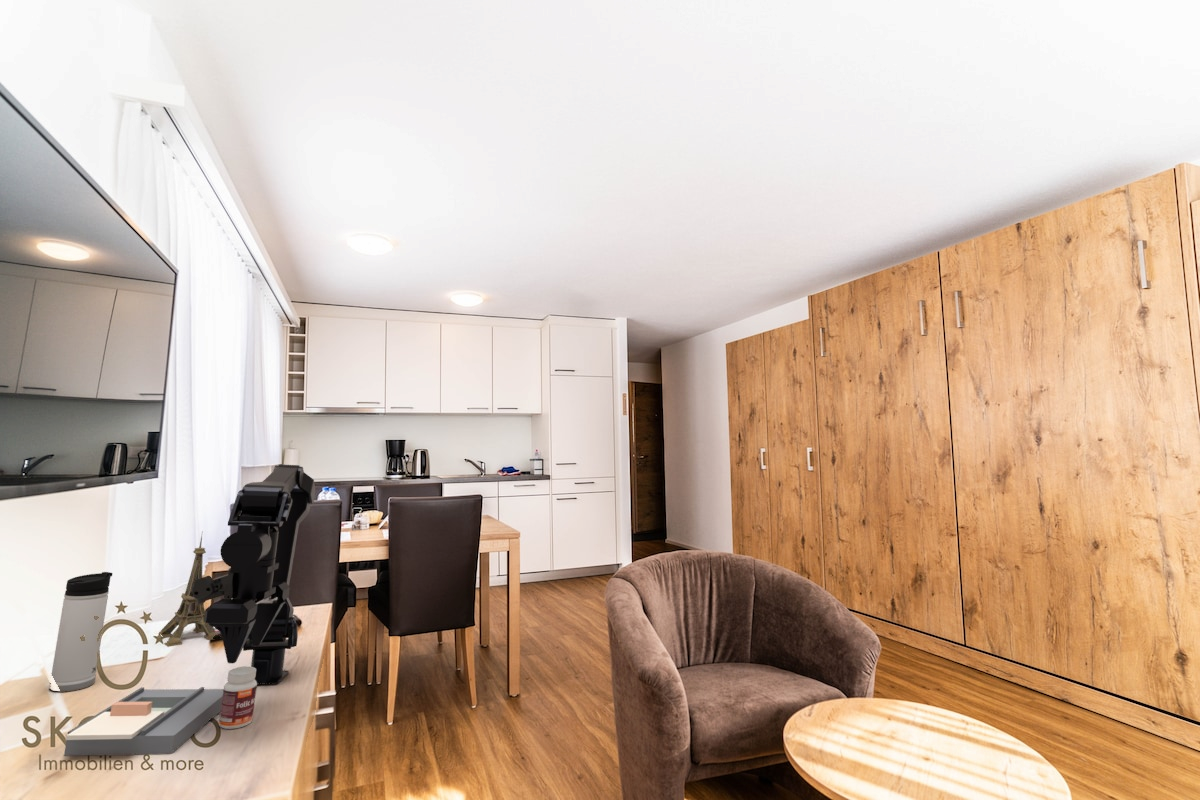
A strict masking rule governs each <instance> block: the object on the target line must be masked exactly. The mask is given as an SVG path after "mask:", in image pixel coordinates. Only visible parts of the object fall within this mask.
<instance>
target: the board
mask: <svg viewBox="0 0 1200 800" xmlns="http://www.w3.org/2000/svg"><path fill="white" fill-rule="evenodd" d="M223 690H224V688H213V689H212V688H205V687H204V686H201V687H199V688H195V689H193V688H192V689H190V688H188V689H187V688H186V689H185V688H184V689H183V688H182V689H179V688H177V689H175V688H174V689H173V688H172V689H171V688H169V689H167V688H166V689H163V688H161V689H160V688H157V689H156V688H155V689H145V687H139V688H138V689H136V690H135V691H133V692H132V693H130V694H128V695H127V696H125V697H123V698H122V699H120V700H118V701H117V702H152V708H151V711H164V715H162V716H161V717H159V718H158V719H157V720H155V721H154V722H153V723H151V724H150V725H148V726H147V727H146V728H144V729H143V730H142V731H141V732H140V733H139V734H137V735H136V736H135V737H133V738H132V739H96V740H65V747H64V754H63V756H64V757H67V756H110V755H111V756H113V755H114V756H117V755H124V756H125V755H157V754H158V755H163V754H164V755H165V754H167V755H168V754H169V755H170V754H172V753H174V752H175V751H176V750H177V749H179V747H181V746H183V744H184V743H186V741H189V739H190V738H191V737H193V734H194V733H195V734H196V733H197V732H199V730H200V729H202V728H203V727H204V726H205V725H206V724H208V723H207V722H208V721H209V719H211V718H212V719H214V718H215V717H216V716H217V715H218V714H219V713H221V705H222V698H223ZM112 705H113V704H110V706H108V707H107V708H105V709H104V710H101V711H100V712H98V713H97V714H95V715H93V716H92V717H90V718H88V719H87V720H85V721H84V722H82V723H80V724H78V725H77V726H75V727H74V728H72V729H71V730H69V731H68V732H67V734H66V735H68V734H69V733H71V732H73V731H74V730H76V729H77V728H79V727H81V726H82V725H84V724H86V723H87V722H89V721H91V720H92V719H94V718H95V717H97V716H99V715H100V714H102V713H104V712H111V706H112ZM212 719H211V720H212ZM209 722H210V721H209ZM195 734H194V735H195Z"/></svg>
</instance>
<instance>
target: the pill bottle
mask: <svg viewBox="0 0 1200 800" xmlns="http://www.w3.org/2000/svg"><path fill="white" fill-rule="evenodd" d="M255 676H256V668H254V667H251V666H239V667H235V668H231V669H229V670H228V673H227V678H226V679H227V682H226V683H225V684H224V685H223V689H224V690H223V698H222V705H221V711H220V712H219V713H220V715H219V720H218V721H219V722H218V726H219V727H220V728H221V729H225V730H234V729H235V730H236V729H239V728H242V727H243V728H244V727H246V726H248V725H249V724H251V723H252V721H253V718H254V717H253V716H254V709H255V702H256V695H257V685H258V684H257V682H256V680H254V679H255Z"/></svg>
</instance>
